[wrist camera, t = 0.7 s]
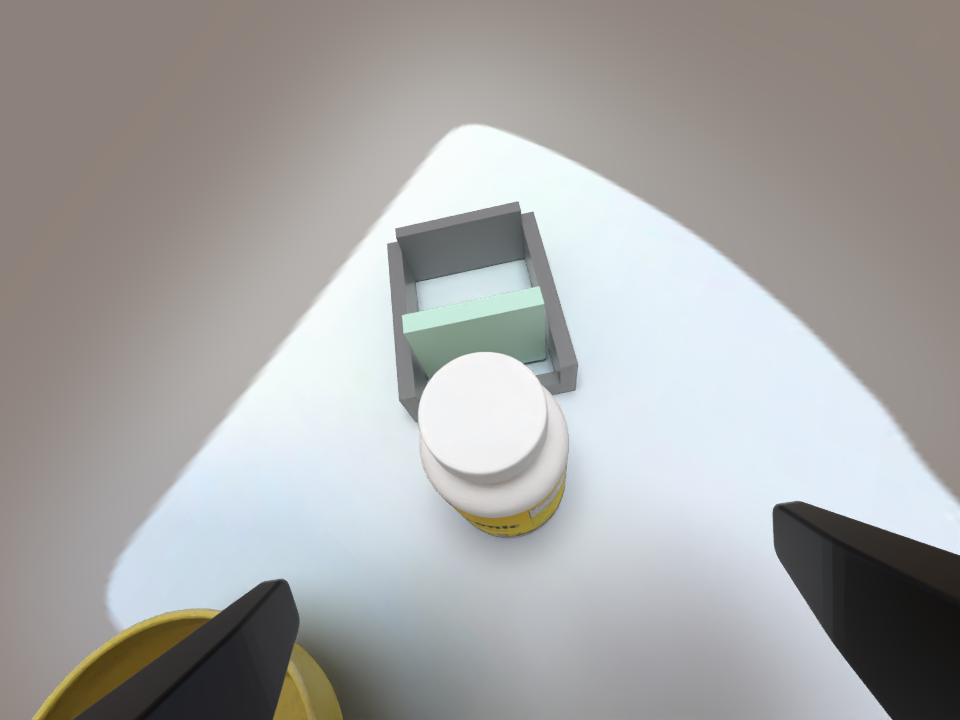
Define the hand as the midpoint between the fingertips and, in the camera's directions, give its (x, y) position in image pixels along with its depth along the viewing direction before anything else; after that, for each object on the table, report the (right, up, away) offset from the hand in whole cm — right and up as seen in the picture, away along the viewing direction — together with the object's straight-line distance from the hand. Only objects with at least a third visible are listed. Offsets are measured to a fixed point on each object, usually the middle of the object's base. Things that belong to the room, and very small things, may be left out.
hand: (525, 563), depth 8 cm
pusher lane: (-1, +6, +18) cm, 19 cm away
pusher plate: (-1, +4, +17) cm, 17 cm away
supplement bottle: (+1, -2, +14) cm, 14 cm away
